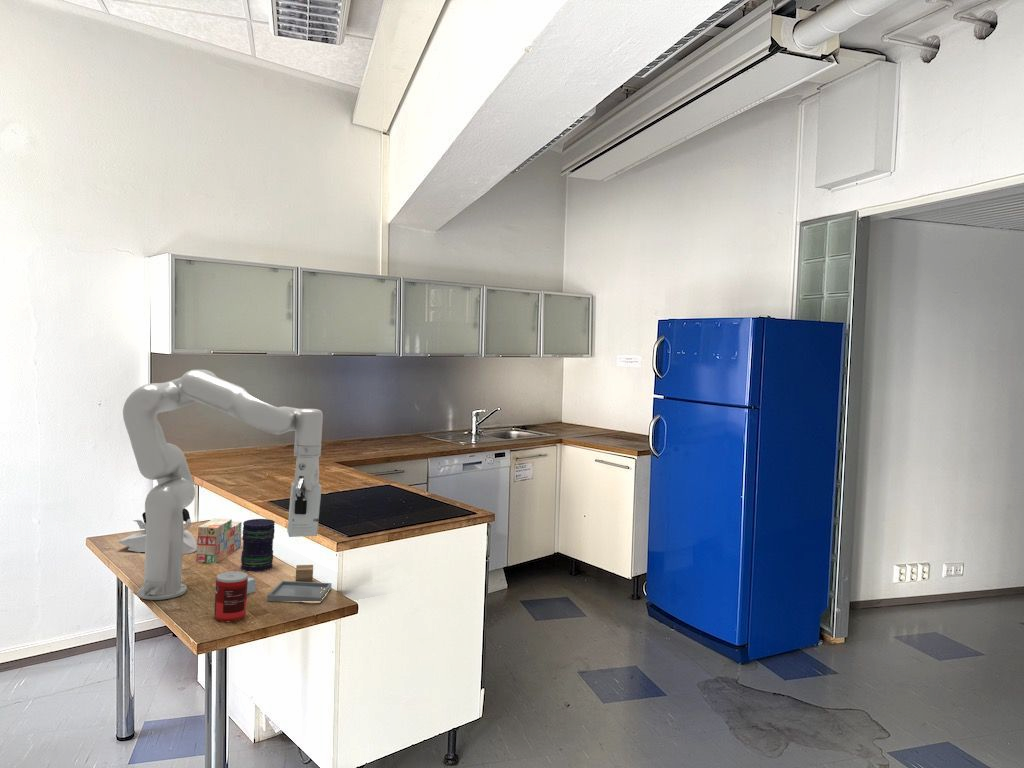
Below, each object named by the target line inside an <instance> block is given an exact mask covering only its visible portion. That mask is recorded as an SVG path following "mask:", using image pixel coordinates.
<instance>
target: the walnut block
mask: <svg viewBox="0 0 1024 768" xmlns="http://www.w3.org/2000/svg"><path fill="white" fill-rule="evenodd" d="M313 579H314V564H296V566H295V581H297V582H314V580H313Z"/></svg>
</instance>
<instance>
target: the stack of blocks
mask: <svg viewBox="0 0 1024 768" xmlns="http://www.w3.org/2000/svg"><path fill="white" fill-rule="evenodd" d="M196 540H197V541H196V543H197V550H196V562H205V563H204V564H211V563H215V564H216V562H217V561H218V562H220V561H222V560H223V559H225V558H226V557H227V556H229V555H230V554H232V553H233V552H235V551H237V550H238V549H240V548H241V547H240V546H242V545H241V544H242V541H241V540H242V521H233V519H232V518H212V519H210V520H209V521H207V522H205V523H203V524H201V525H199V526H198V529H197V539H196ZM239 547H240V548H239ZM236 549H237V550H236ZM231 552H232V553H231ZM228 554H229V555H228ZM225 556H226V557H225ZM224 557H225V558H224ZM222 558H223V559H222ZM221 559H222V560H221ZM219 560H220V561H219ZM218 562H217V563H218Z"/></svg>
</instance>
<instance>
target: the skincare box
mask: <svg viewBox="0 0 1024 768" xmlns="http://www.w3.org/2000/svg"><path fill="white" fill-rule="evenodd" d="M296 487H297V486H296ZM302 489H305V488H302ZM303 495H304V493H303ZM321 495H322V486H321V484H320V483H319V484H317V485H315V486H314V489H313V490H312V491H311V492H309V490H308V491H307V496H306V500H307V510H306V514H305V515H303V514H295V497H296V490H295V489H294V482H291V483H290V497H289V508H288V520H287V530H286V532H287V535H288V537H289V538H293V537H295V538H297V537H317V536H318V529H319V520H320V519H319V518H320V507H321V499H322V498H321Z"/></svg>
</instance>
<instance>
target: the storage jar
mask: <svg viewBox="0 0 1024 768" xmlns="http://www.w3.org/2000/svg"><path fill="white" fill-rule="evenodd" d="M275 524H276V523H275V520H273V519H268V518H253V519H248V520H247V519H246V520H245V521H243V527H242V536H241V539H242V551H241V557H240V563H241V566H240V569H241V571H243V570H245V571H244V572H248V571H257V572H256V573H258V571H261V572H266V571H268V569H269V570H271V569H272V568H273V561H274V550H273V546H274V545H273V544H274V539H275ZM270 568H271V569H270ZM265 570H266V571H265Z"/></svg>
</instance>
